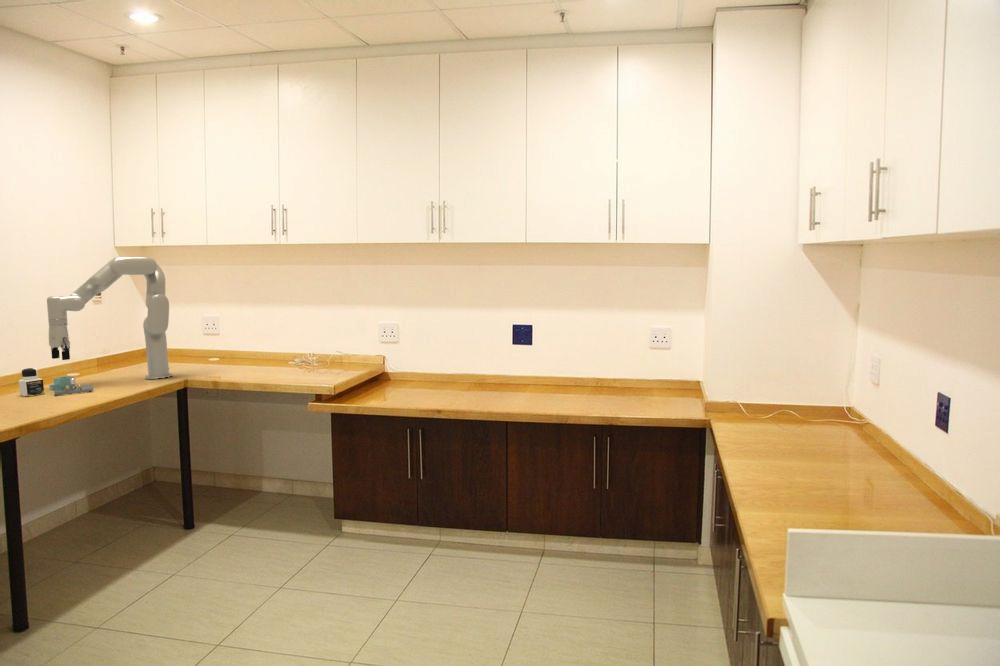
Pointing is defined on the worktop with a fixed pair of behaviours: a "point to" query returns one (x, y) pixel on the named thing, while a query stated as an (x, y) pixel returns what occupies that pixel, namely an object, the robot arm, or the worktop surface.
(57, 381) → the teal hollow square block
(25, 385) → the medicine bottle
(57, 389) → the post base
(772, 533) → the worktop surface
